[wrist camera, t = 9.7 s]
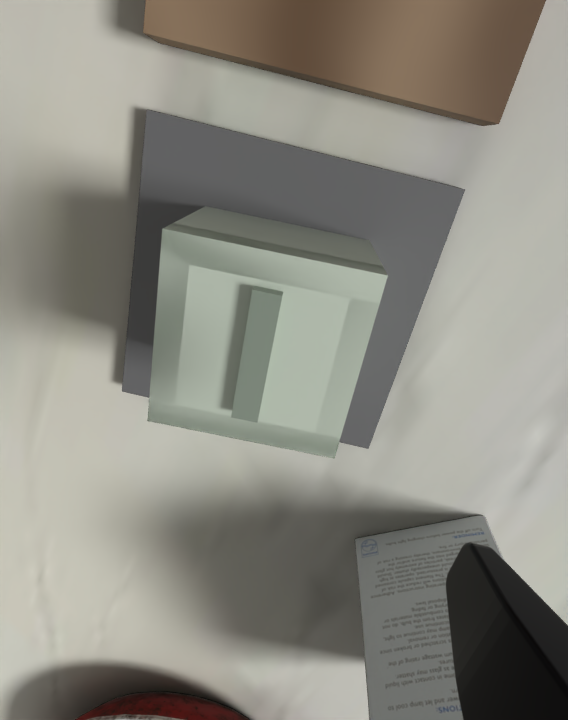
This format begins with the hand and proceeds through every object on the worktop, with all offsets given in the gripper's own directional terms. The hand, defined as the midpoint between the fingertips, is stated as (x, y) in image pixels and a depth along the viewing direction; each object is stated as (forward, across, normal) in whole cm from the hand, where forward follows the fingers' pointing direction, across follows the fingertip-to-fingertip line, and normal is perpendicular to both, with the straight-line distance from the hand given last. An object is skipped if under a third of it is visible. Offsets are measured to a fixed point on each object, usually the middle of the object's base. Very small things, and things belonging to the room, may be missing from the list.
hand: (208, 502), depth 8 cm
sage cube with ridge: (+11, 0, 0) cm, 11 cm away
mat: (+12, 0, 0) cm, 12 cm away
